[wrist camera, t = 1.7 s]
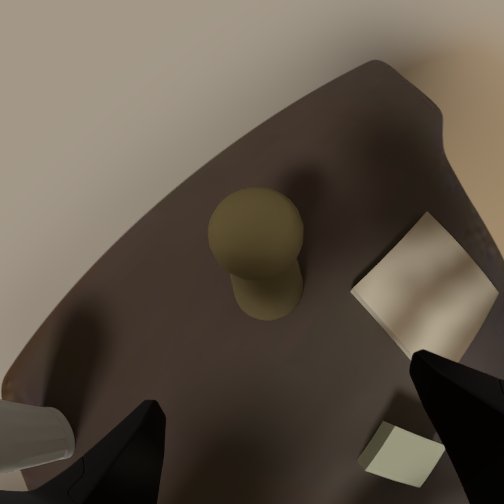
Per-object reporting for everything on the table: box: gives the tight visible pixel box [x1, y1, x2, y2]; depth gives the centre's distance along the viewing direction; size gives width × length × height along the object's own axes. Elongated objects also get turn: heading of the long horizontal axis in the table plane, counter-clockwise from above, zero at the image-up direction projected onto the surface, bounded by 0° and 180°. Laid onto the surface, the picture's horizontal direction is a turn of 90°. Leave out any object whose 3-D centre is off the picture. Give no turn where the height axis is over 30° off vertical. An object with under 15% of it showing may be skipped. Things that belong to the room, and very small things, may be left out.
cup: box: [0, 400, 75, 474], centre depth 13 cm, size 8×8×12 cm
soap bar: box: [357, 421, 445, 488], centre depth 14 cm, size 6×4×3 cm, turn 57°
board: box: [350, 212, 499, 363], centre depth 20 cm, size 12×12×1 cm
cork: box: [208, 187, 304, 321], centre depth 18 cm, size 6×6×11 cm
